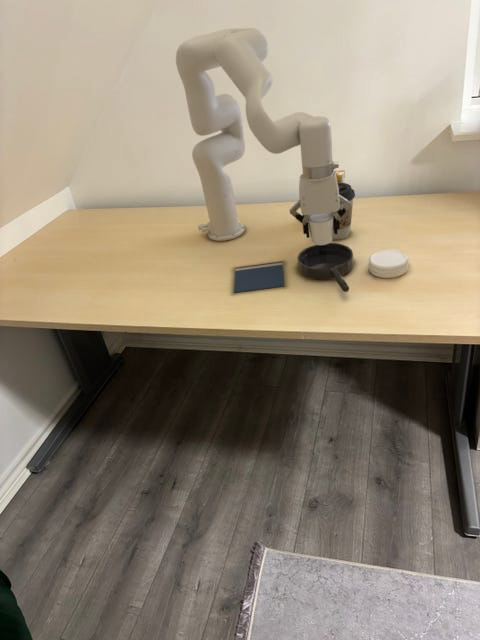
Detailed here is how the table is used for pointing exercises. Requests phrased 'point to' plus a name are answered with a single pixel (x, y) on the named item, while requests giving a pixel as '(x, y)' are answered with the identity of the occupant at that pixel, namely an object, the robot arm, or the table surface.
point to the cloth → (259, 277)
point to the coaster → (388, 263)
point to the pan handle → (339, 279)
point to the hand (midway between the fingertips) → (321, 233)
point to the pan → (325, 260)
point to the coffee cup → (345, 220)
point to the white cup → (321, 228)
